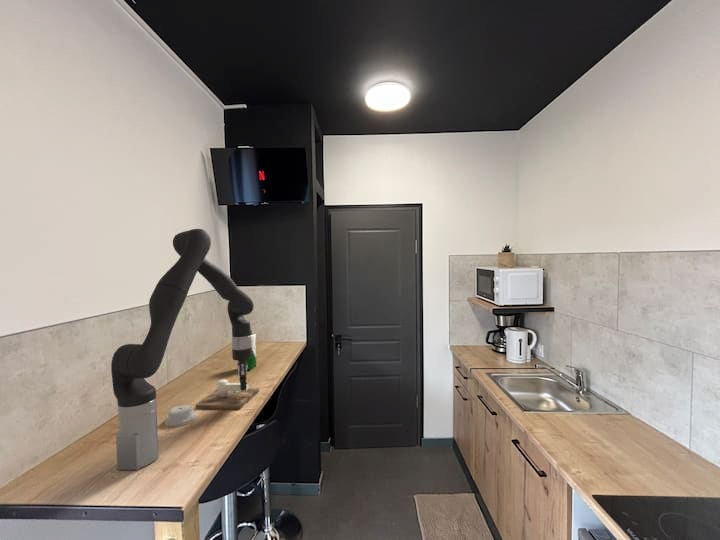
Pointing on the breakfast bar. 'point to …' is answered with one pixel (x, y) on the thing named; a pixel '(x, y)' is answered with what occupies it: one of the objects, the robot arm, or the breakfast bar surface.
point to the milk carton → (253, 359)
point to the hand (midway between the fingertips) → (243, 389)
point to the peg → (228, 387)
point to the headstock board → (227, 400)
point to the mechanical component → (180, 415)
